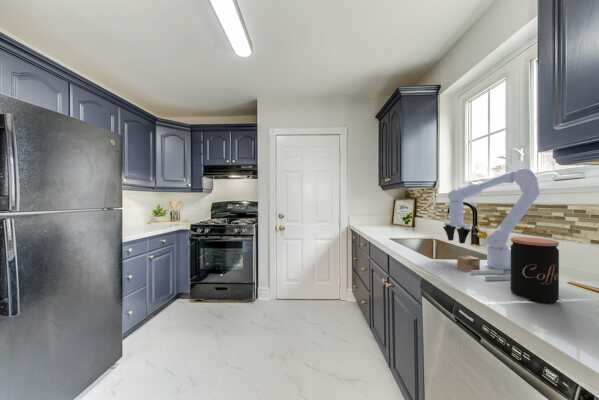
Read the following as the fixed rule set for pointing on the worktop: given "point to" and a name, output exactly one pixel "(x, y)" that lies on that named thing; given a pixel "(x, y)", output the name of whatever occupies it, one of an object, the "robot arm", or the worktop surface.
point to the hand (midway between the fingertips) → (456, 241)
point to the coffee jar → (535, 269)
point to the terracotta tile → (464, 269)
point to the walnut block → (468, 262)
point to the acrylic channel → (490, 274)
